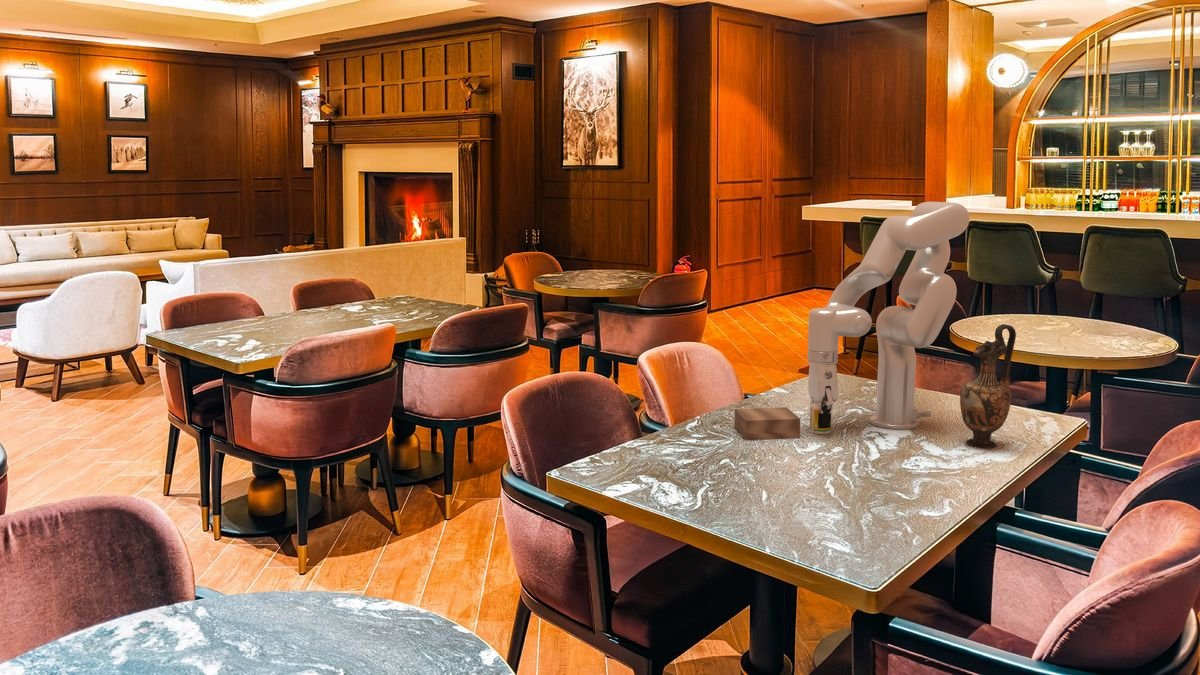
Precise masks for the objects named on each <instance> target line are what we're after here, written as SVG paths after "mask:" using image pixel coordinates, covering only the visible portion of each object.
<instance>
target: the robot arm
mask: <svg viewBox="0 0 1200 675" xmlns="http://www.w3.org/2000/svg"><path fill="white" fill-rule="evenodd" d="M969 223H970V214H969V211H968V209H967V208H966V206H964V205H963V204H961V203H956V202H947V201H925V202H921V203H919V204H917V205H915V207H914V209H913V211H912V214H911V216H910V215H891V216H890V217H887V218H886V219H885V220H884V221H883V222H882V223H881V225H880V227H879V229H878V231H877V232H876V234H875V237H874V238H873V240H872V242H871V244H870V246H869V247H868V249H867V252H866V254H865V255H864V258H863V259H862V261H861V263H860V264H859V266H857V267H856V268H855V269H853V271H852V272H850V273H849V274H848V275H847V276H846V277H845V278H843V280H842V281H841V282H840V283H839V284H838V285H837V286H836V288H835V289H834V291H833V293H832V294H831V296H830V298H829V300H828V301H827V304H826V305H825V307H815V308H812V309H810V311H809V315H808V328H807V330H808V331H807V332H808V334H807V335H808V337H807V363H809V368H808V379H807V380H808V382H807V383H808V384H807V390H808V391H807V392H808V394H809V396H810V405H811V404H812V403H813V402H814V400H813V398H814V399H816V400H817V401H819V408H820V413H818V428H820V429H822V428H830V427H831V426H832V410H833V406H834V403H836V402H837V401H838V369H837V364H838V359H839V357H838V356H839V355H838V354H839V337H851V338H858V337H862V336H864V335H866V334H867V333H869V331H870V330H871V327H872V325H873V321H872V317H871V315H870V314H869V312H867V310H865V309H863V308H860V307H855V305H856V303H857V302H858V301H859V299H861V297H863V295H864V294H866V293H867V292H868V291H870V290H873V289H874V288H876V287H879V286H882V285H884V284H886V283H888V282H889V281H891V279H892V278H893V277H894V276H893V275H894V274H895V272H896V270H897V268H898V266H899V264H900V262H901V261H902V260H903V257H904V255H905V253H906V251H916V252H915V254H914V256H913V258H912V260H911V262H910V264H909V266H908V269H907V270H906V272H905V274H904V276H903V278H902V280H901V282H900V284H899V287H898V295H899V297H900V298H901V300H902V301H903V302H905V303H907V304H909V305H912V306H915V307H914V308H911V307H906V306H902V305H891V306H887V307H886V308H884V309H883V310H881V311H880V313H879V314H878V316H877V319H876V323H875V325H876V326H875V331H876V337H877V344H878V347H877V348H878V359H877V360H878V362H877V363H878V364H877V386H876V405H875V406H876V408H875V414H873V415H871V416H870V417H869V423H870V424H871V425H873V426H876V427H878V428H884V429H890V430H909V429H910V430H911V429H912V430H913V429H915V428H917V427H919V425H920V420H919V419H920V418H931V417H932V410H931V409H923V408H916V407H915V391H916V390H915V388H916V369H917V368H916V366H917V355H916V351H915V350H916V349H915V348H917V349H924V348H926V347H928V346H930V345H931V344H933V343H934V342H935V340H936V339H937V337H938V336H939V333H940V332H941V330H942V329H943V326H944V324H945V322H946V320H947V319H948V317H949V315H950V313H951V310H952V309H953V307H954V305H955V301H956V298H957V293H958V292H957V291H958V290H957V285H956V282H955V281H954V279H953V277H952V276H950V275H949V274H946V273H945V270H946V268H947V266H948V265H949V264H948V263H949V261H950V256H951V246H950V241H949V240H951V239H954V238H957V237H958V236H960V235H961V234H963V233H964V232H965V231H966V229H967V228H968V226H969ZM822 399H826V401H823V400H822ZM823 404H826V405H824V407H823ZM831 428H832V427H831Z"/></svg>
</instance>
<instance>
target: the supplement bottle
mask: <svg viewBox="0 0 1200 675" xmlns="http://www.w3.org/2000/svg"><path fill="white" fill-rule="evenodd" d="M813 400H814V402H813V403H812V404H811V403H810V410H809V432H811V433H812V434H817V435H826V434H830V432H832V431H831V429H832V427H830V428H822V429H820V428H818V413H820V408H819V401H817V400H816V399H814V398H813ZM822 400H823V401H826V399H822ZM824 405H826V404H823V407H824Z"/></svg>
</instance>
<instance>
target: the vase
mask: <svg viewBox="0 0 1200 675" xmlns="http://www.w3.org/2000/svg"><path fill="white" fill-rule="evenodd" d="M1005 330H1007V331H1008V339H1007V343H1005V339H1004V336H1003V331H1005ZM1016 337H1017V331H1016V328H1014V326H1012V325H1009V324H1003V323H1002V324H1000V325H998V326H997V327H996V328H995V331H994V338H995V340H994V341H989V340H986V341H984V343H982V345H979V346H977V347H975V350H974V351H973V352H972V354H973V356H974V357H976V358H979V360H980V369H979V373H978V376H977V378H976V379H974V380H970V381H967V382H965V383H962V385H961V386H960V391H959V392H960V394H959V408H960V414H961V416H962V420H963V422H964V425H965V427H966V428H968V430H970V431H971V432H972V434H973V435H972V436H973V438H969V439H967V440H966V442H965V444H966V445H967V446H970V447H971V446H972V447H971V448H975V447H976V448H975V449H981V450H983V449H984V450H985V449H994V448H996V447H997V446H998V445H997V443H996V442H995V441H993V440H992V434H993V433H994V432H996V431H999V429H1001V428H1002V427H1003V426H1004V424H1005V422H1006V420H1007V418H1008V415H1009V412H1010V409H1011V403H1012V391H1011V389H1010V386H1011V385H1012V384H1011V378H1010V370H1011V363H1012V358H1013V352H1014V347H1015V344H1016ZM1003 355H1004V359H1003V365H1002V373H1001V378H1000V380H998V379H997V374H996V373H997V362H998V360H999V359H1000V357H1002V356H1003Z"/></svg>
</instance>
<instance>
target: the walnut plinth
mask: <svg viewBox="0 0 1200 675" xmlns="http://www.w3.org/2000/svg"><path fill="white" fill-rule="evenodd" d="M734 428H735V430H736V431H737V432H738V433H739V434H740V435H741V436H742V437H743V438H744V440H745V441H748V440H749V441H750V440H776V439H777V440H779V439H800V438H801V418H800V417H799V416H798V415H797V414H795V413H794V412H793V411H791V410H790V409H789V408H788V407H787V406H786V407H784V406H783V407H759V408H758V407H756V408H755V407H753V408H751V407H750V408H735V409H734Z"/></svg>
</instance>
